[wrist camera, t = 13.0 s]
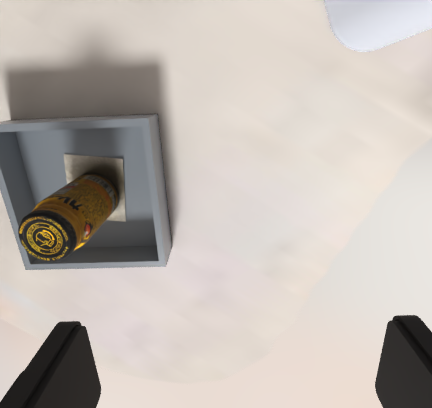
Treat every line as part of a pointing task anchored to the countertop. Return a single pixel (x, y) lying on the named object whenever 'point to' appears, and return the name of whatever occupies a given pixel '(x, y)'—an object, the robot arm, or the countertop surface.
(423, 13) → the plastic bottle
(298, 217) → the countertop surface
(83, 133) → the open bin
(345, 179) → the countertop surface
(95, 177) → the condiment
